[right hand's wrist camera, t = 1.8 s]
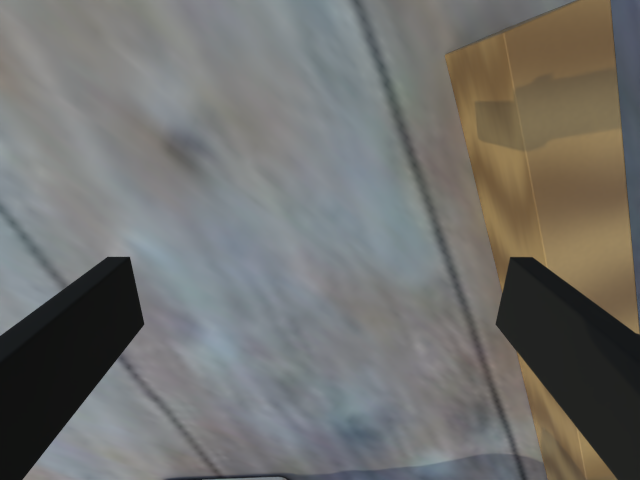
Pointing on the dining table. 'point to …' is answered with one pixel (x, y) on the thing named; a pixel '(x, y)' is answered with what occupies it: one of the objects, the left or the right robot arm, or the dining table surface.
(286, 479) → the left robot arm
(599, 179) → the bar
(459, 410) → the dining table surface
